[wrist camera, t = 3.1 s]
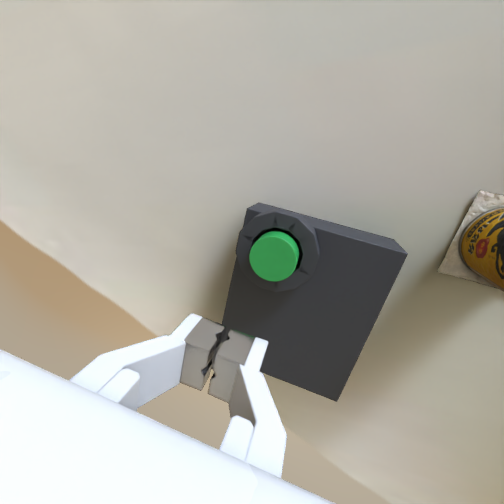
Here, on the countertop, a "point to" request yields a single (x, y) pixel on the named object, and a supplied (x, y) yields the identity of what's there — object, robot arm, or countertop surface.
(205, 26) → the countertop surface
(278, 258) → the small green piece
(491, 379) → the countertop surface
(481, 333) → the countertop surface
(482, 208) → the condiment
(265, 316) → the control panel
